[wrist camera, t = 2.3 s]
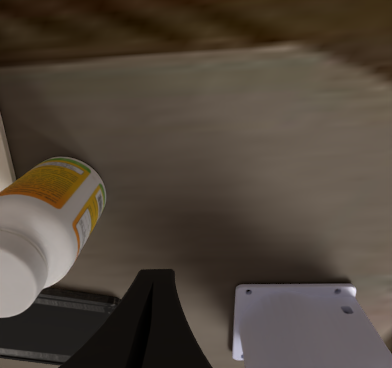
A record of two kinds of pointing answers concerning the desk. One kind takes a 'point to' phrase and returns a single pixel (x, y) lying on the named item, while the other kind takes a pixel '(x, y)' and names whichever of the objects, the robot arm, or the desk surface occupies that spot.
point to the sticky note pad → (5, 161)
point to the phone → (54, 326)
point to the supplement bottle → (45, 227)
